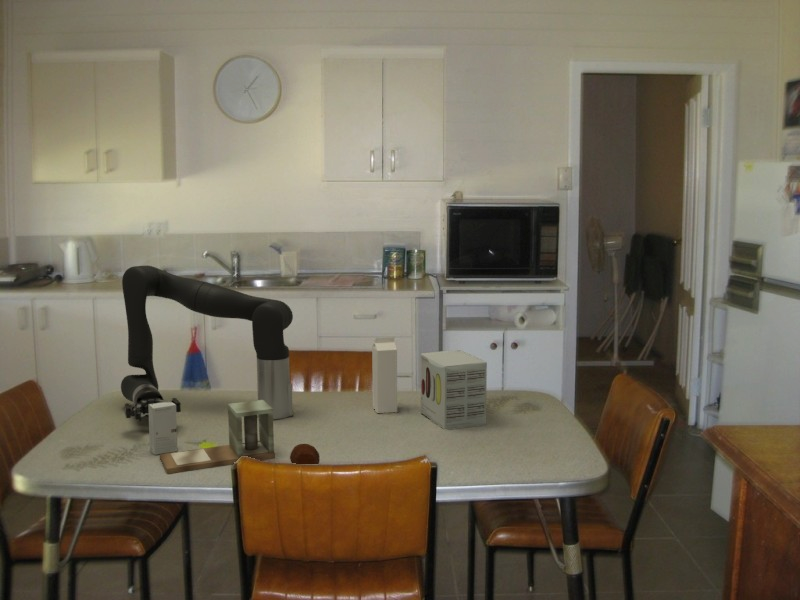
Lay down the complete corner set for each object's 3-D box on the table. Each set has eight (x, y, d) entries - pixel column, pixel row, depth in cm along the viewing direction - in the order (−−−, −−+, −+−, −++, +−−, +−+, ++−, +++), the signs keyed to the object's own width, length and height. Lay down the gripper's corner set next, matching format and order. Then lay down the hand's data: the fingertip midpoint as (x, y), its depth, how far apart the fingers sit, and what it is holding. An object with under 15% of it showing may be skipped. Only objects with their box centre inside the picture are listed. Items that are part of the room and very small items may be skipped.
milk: (397, 412, 242) (397, 338, 238) (377, 414, 240) (377, 340, 237) (391, 406, 247) (391, 334, 244) (372, 408, 246) (372, 335, 242)
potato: (289, 477, 190) (288, 450, 189) (290, 463, 199) (290, 437, 198) (319, 476, 191) (319, 449, 190) (319, 462, 200) (319, 437, 199)
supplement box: (419, 413, 241) (419, 353, 238) (460, 408, 246) (460, 349, 243) (443, 430, 225) (444, 365, 222) (487, 425, 230) (488, 361, 227)
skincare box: (154, 455, 205) (152, 408, 203) (149, 450, 209) (146, 404, 207) (178, 451, 208) (176, 404, 207) (173, 446, 212) (171, 400, 210)
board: (263, 444, 213) (261, 398, 211) (275, 457, 203) (274, 409, 201) (159, 459, 202) (157, 411, 201) (167, 473, 193) (164, 423, 191)
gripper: (120, 389, 228) (127, 404, 213) (173, 384, 234) (183, 398, 219) (121, 415, 229) (129, 432, 214) (174, 409, 235) (184, 425, 220)
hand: (156, 415), depth 217 cm, fingers open, 8 cm apart
